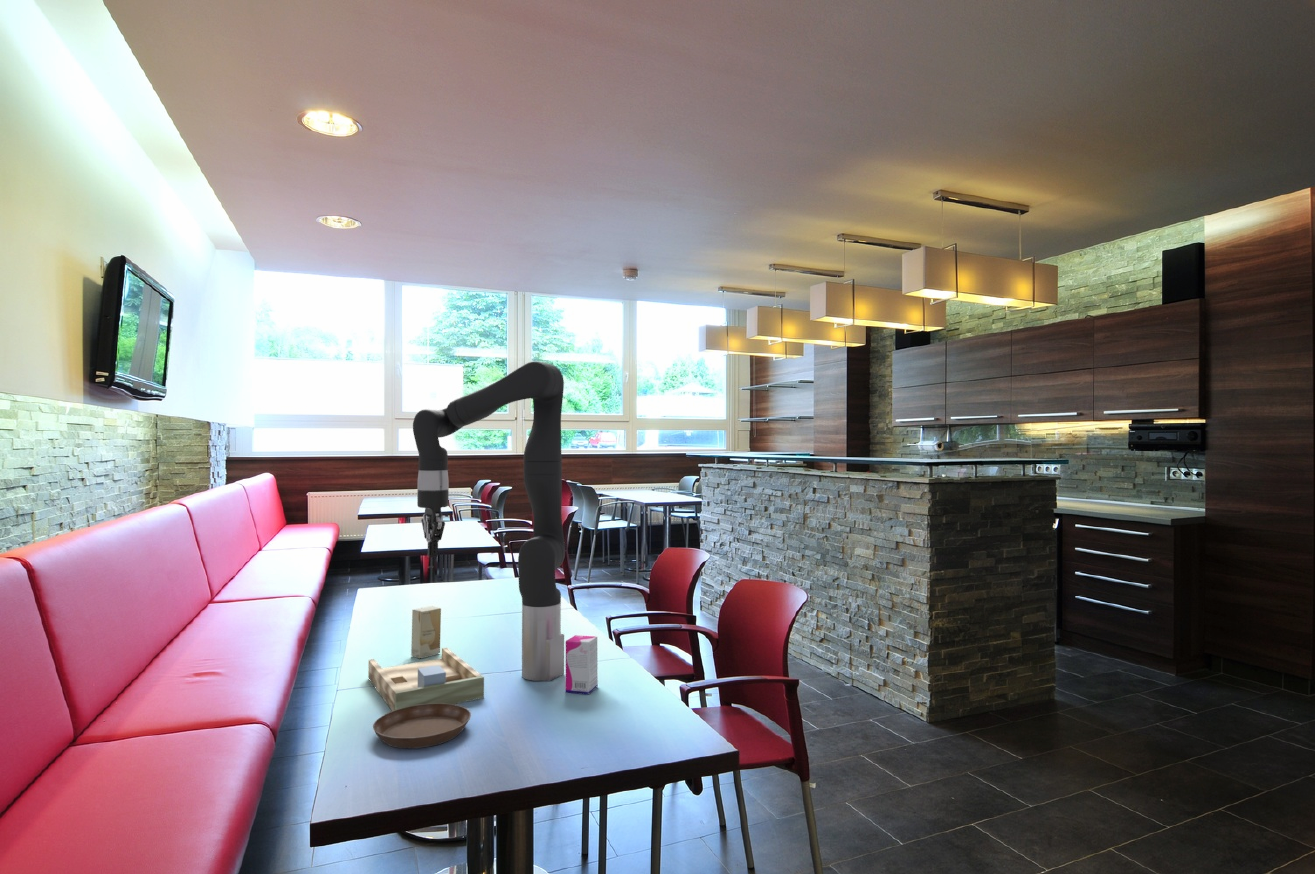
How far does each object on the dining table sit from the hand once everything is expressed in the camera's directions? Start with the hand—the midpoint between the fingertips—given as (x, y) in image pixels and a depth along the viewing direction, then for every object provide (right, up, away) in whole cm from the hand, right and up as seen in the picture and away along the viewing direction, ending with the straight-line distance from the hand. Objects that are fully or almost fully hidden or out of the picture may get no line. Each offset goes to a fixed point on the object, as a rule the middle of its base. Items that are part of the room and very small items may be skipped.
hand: (432, 556), depth 176 cm
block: (+8, -25, -26) cm, 37 cm away
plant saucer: (+12, -27, -43) cm, 52 cm away
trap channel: (+4, -27, -18) cm, 32 cm away
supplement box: (+40, -27, -19) cm, 52 cm away
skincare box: (-4, -27, +7) cm, 29 cm away
